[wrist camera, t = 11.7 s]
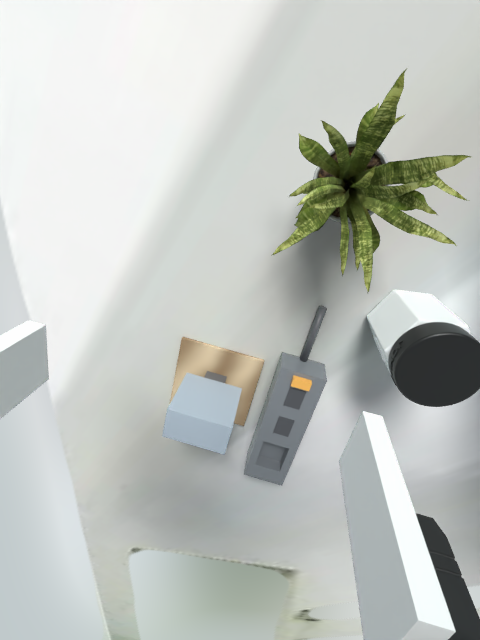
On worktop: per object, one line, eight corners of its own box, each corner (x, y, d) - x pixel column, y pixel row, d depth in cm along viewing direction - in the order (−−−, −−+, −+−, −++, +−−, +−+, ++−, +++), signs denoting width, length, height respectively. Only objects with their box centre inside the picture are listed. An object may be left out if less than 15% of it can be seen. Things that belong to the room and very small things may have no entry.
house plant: (321, 280, 41) (337, 340, 26) (247, 191, 38) (218, 203, 23) (430, 198, 36) (526, 215, 21) (353, 87, 33) (402, 18, 18)
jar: (359, 300, 41) (382, 345, 31) (428, 276, 39) (480, 316, 28) (379, 359, 44) (407, 419, 33) (445, 340, 42) (498, 398, 31)
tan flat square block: (264, 360, 47) (264, 362, 46) (244, 423, 52) (243, 426, 51) (182, 336, 47) (181, 338, 47) (170, 401, 52) (169, 404, 52)
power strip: (300, 299, 42) (300, 314, 38) (345, 312, 42) (351, 328, 38) (247, 454, 54) (243, 478, 50) (282, 464, 54) (281, 490, 50)
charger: (190, 364, 48) (167, 409, 39) (243, 380, 48) (232, 428, 39) (186, 388, 50) (162, 436, 41) (236, 403, 50) (224, 454, 41)
